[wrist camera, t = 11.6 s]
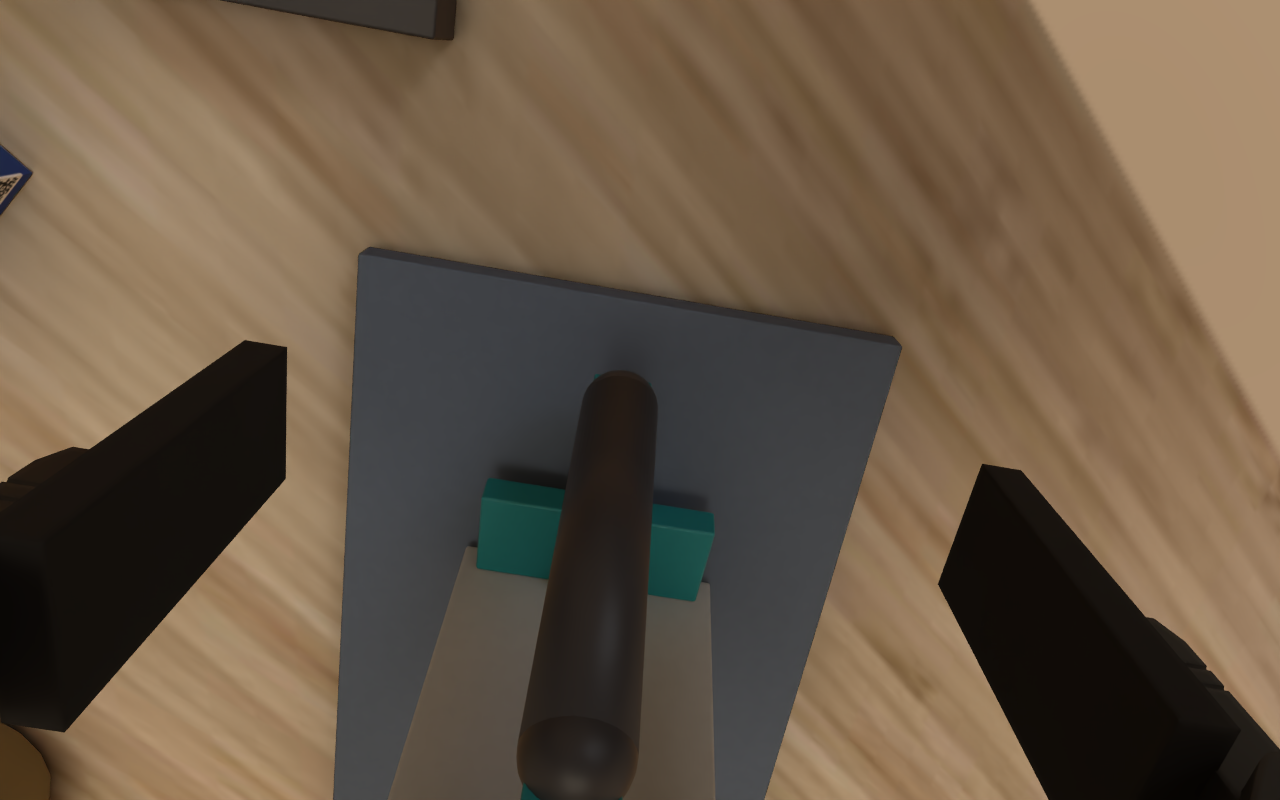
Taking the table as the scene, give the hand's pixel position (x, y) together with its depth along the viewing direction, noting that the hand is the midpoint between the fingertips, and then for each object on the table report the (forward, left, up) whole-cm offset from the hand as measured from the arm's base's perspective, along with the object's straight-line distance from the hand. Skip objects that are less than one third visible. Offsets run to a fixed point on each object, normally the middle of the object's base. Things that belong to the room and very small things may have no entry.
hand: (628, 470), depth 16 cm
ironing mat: (0, +12, -11) cm, 16 cm away
